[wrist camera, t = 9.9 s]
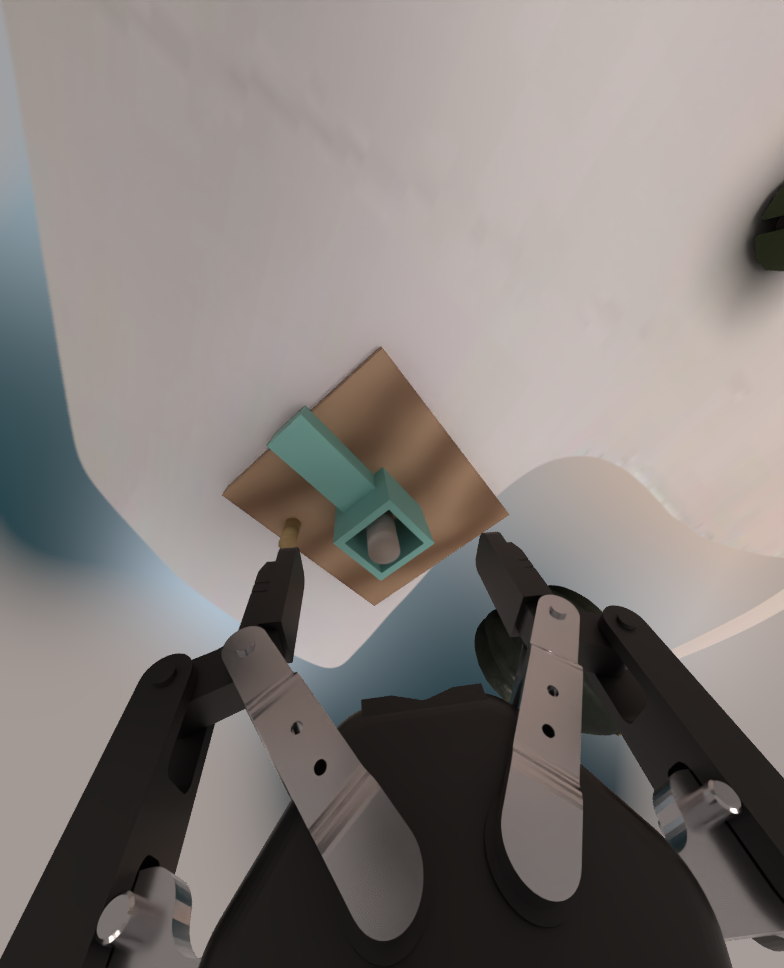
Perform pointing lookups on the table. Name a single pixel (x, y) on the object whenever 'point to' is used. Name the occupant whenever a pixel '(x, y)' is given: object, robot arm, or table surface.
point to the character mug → (772, 237)
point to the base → (376, 443)
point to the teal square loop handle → (351, 491)
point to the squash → (502, 661)
